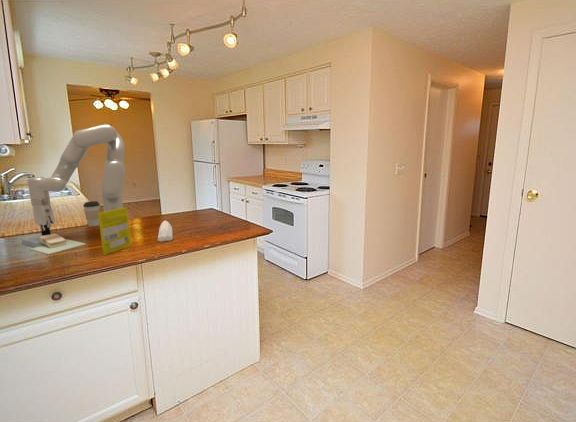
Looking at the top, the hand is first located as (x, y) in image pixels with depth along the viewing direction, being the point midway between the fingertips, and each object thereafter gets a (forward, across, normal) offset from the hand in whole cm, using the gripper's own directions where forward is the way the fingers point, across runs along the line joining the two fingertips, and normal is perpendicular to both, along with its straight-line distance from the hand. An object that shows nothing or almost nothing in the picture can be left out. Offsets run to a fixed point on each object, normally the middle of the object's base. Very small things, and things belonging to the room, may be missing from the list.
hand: (46, 237), depth 157 cm
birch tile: (+2, -6, 0) cm, 6 cm away
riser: (+4, +5, 0) cm, 6 cm away
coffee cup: (+4, +19, -35) cm, 40 cm away
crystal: (+4, -42, -38) cm, 57 cm away
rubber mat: (+4, -10, 0) cm, 11 cm away
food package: (+4, -41, -10) cm, 43 cm away
